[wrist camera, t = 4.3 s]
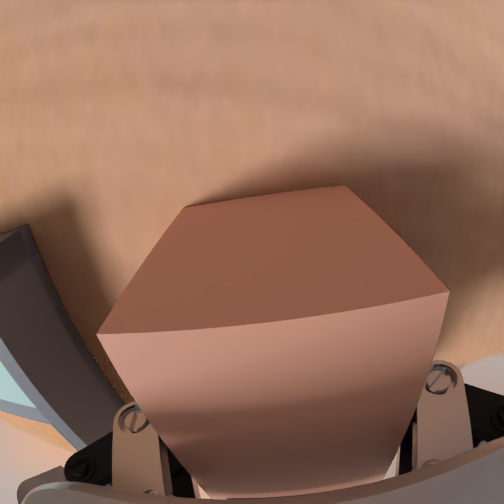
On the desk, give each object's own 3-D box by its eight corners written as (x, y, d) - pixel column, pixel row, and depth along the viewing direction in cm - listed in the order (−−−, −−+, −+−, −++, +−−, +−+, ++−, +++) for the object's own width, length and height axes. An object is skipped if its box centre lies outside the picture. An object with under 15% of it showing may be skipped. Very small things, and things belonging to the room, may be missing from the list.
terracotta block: (344, 184, 9) (454, 297, 3) (344, 384, 13) (371, 504, 7) (183, 208, 9) (92, 340, 4) (236, 397, 13) (227, 518, 8)
